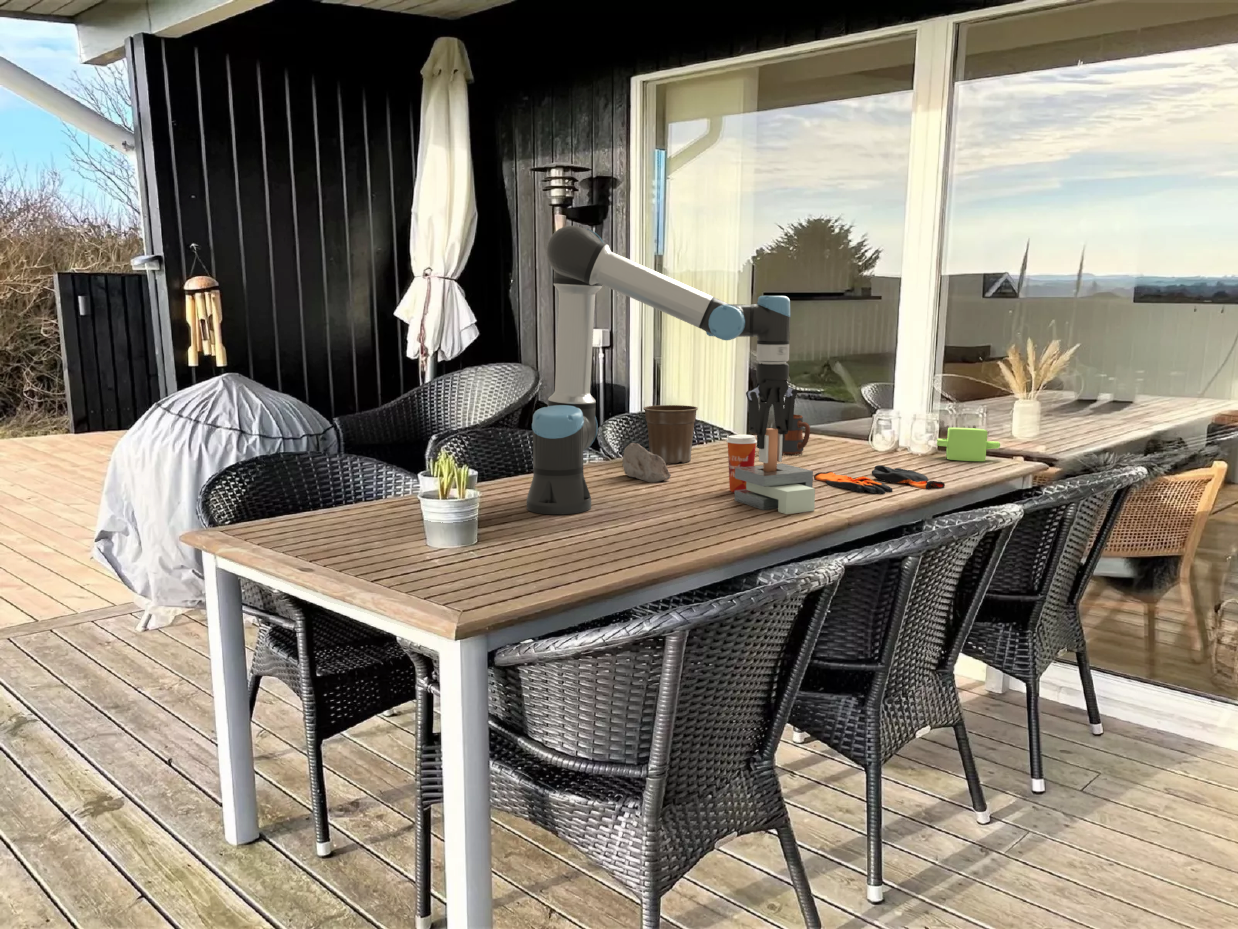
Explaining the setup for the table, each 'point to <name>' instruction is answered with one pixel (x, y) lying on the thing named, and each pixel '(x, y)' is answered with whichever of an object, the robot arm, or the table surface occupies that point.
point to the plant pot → (671, 431)
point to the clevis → (769, 483)
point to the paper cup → (740, 457)
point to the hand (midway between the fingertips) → (770, 461)
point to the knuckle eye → (788, 496)
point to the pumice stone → (644, 464)
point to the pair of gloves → (880, 474)
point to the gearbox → (967, 444)
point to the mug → (796, 437)
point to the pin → (771, 450)
